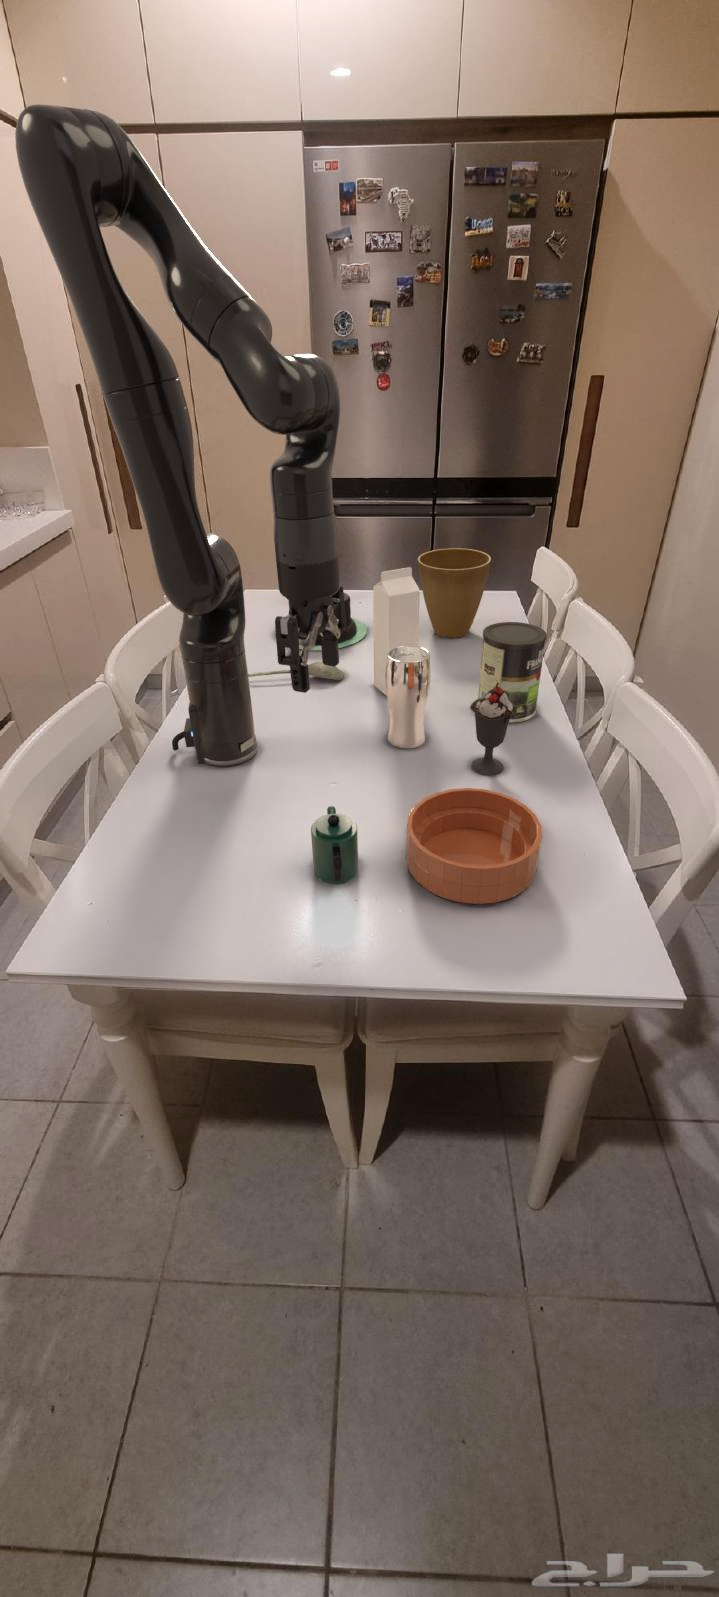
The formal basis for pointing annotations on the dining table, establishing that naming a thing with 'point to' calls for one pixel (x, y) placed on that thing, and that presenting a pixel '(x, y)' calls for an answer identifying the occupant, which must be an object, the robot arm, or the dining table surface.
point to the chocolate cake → (349, 634)
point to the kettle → (334, 847)
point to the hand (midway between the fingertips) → (316, 677)
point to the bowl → (473, 845)
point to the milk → (394, 617)
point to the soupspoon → (312, 671)
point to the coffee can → (513, 664)
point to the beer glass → (407, 694)
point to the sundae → (491, 727)
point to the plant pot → (453, 588)
